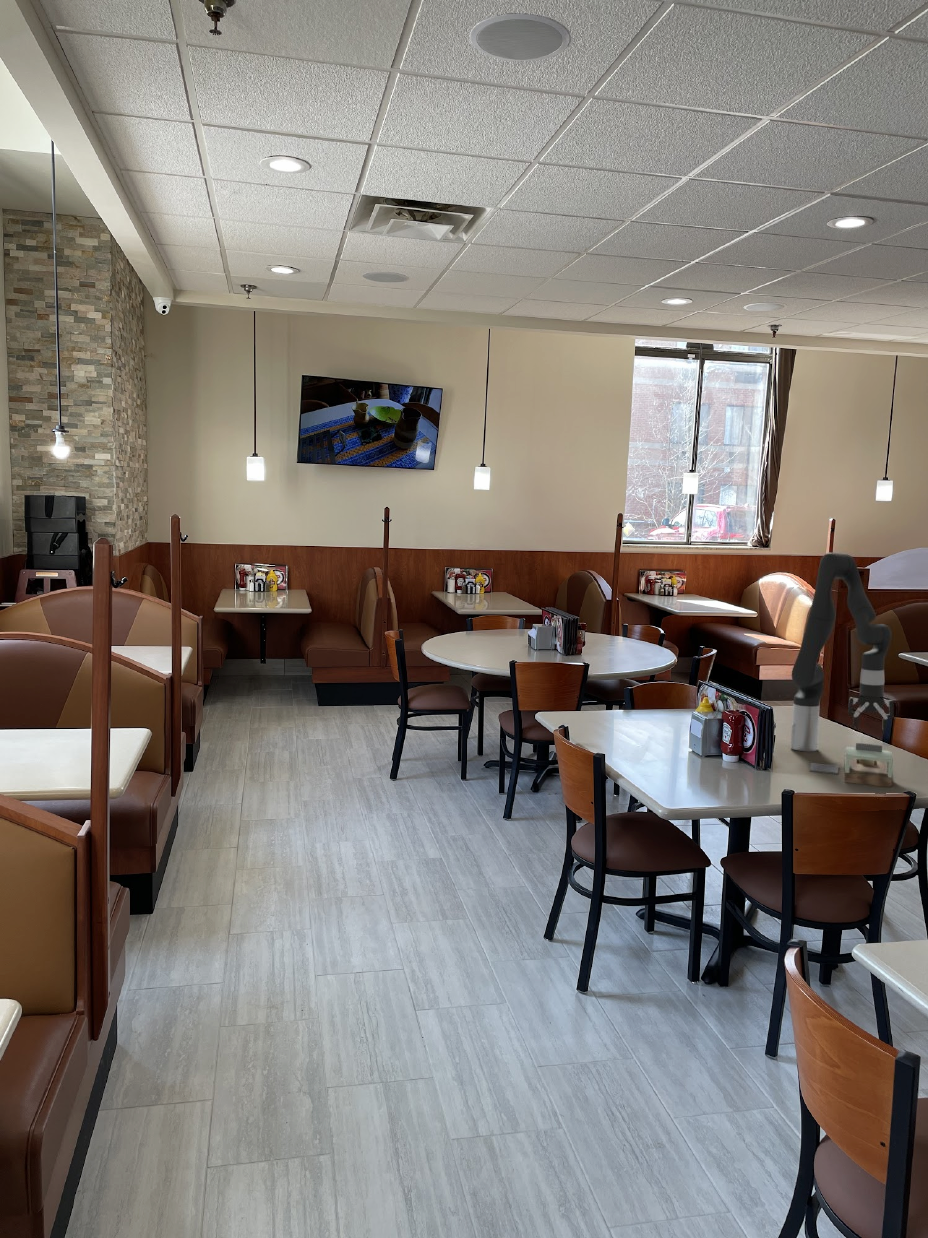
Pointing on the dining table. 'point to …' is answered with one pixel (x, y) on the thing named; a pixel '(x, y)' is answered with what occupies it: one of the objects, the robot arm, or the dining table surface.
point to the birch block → (866, 762)
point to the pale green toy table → (869, 755)
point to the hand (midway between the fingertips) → (869, 728)
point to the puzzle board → (867, 773)
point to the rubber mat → (824, 768)
